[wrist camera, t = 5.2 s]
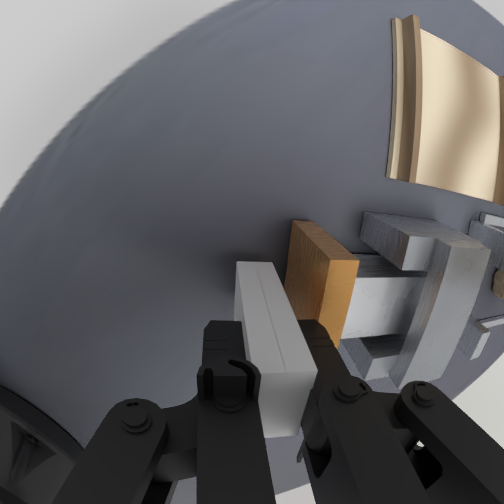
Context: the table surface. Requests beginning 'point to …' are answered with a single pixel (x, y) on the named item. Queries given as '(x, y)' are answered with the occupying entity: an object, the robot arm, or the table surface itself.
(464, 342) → the silver rectangular frame
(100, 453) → the robot arm
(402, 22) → the tan base plate
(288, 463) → the table surface
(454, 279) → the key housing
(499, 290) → the handle
